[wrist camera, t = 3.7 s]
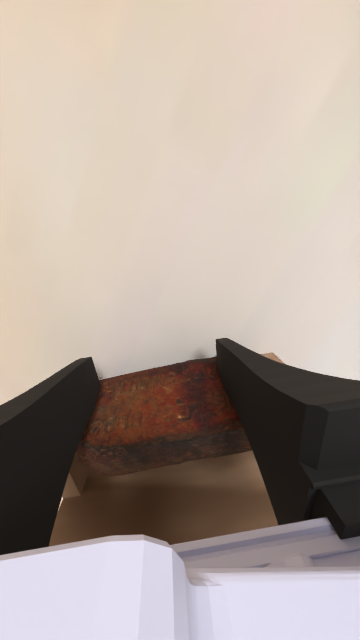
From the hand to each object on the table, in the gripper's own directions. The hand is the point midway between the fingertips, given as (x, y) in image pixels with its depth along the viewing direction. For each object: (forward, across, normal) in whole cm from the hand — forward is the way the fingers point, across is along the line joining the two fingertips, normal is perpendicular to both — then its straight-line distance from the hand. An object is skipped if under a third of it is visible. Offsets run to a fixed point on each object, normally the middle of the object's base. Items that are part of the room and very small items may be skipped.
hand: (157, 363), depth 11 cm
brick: (+2, 0, +3) cm, 3 cm away
